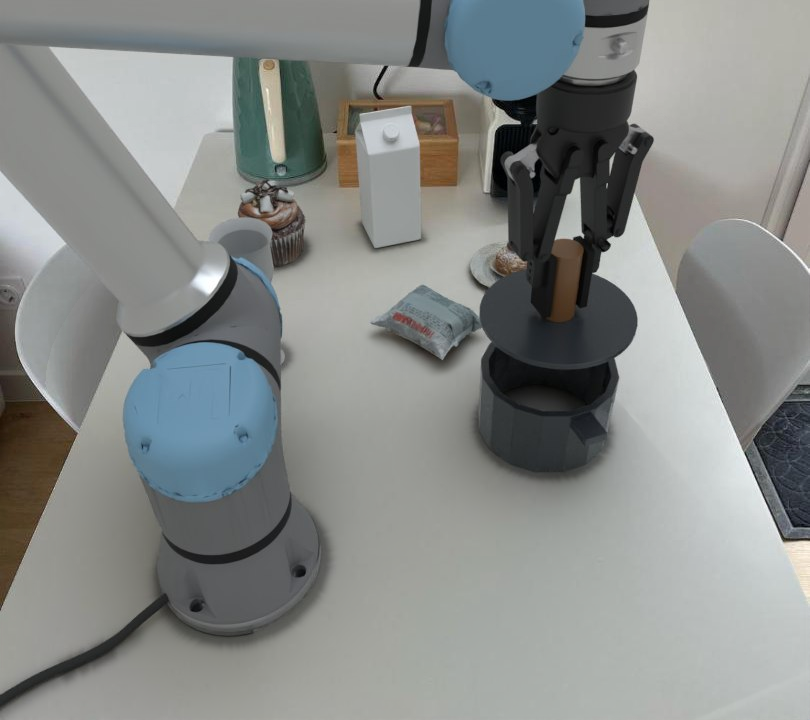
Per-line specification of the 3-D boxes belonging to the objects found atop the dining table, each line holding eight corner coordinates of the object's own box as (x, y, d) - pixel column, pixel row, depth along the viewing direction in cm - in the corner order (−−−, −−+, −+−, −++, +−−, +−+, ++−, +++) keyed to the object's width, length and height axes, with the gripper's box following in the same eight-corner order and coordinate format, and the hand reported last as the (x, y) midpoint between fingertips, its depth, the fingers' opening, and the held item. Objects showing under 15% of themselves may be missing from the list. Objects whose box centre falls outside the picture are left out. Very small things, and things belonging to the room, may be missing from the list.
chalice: (228, 349, 101) (200, 227, 89) (279, 332, 103) (259, 211, 91) (248, 385, 96) (220, 262, 84) (301, 367, 98) (282, 243, 86)
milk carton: (361, 223, 121) (352, 103, 108) (406, 215, 123) (403, 94, 110) (374, 249, 116) (366, 126, 103) (421, 240, 118) (419, 117, 105)
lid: (522, 392, 73) (529, 317, 67) (454, 296, 83) (456, 224, 77) (667, 349, 76) (686, 274, 70) (585, 261, 87) (595, 190, 81)
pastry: (515, 311, 105) (517, 282, 102) (451, 271, 112) (452, 243, 109) (575, 273, 111) (579, 245, 108) (511, 237, 118) (513, 210, 114)
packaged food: (442, 374, 97) (443, 343, 93) (369, 333, 103) (368, 302, 99) (486, 338, 102) (488, 307, 98) (414, 301, 107) (414, 270, 104)
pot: (525, 511, 82) (532, 452, 76) (449, 387, 95) (450, 328, 89) (644, 470, 85) (660, 411, 79) (554, 356, 99) (562, 298, 93)
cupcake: (228, 259, 115) (215, 197, 109) (269, 225, 122) (259, 165, 115) (282, 277, 112) (273, 215, 105) (322, 242, 118) (315, 181, 111)
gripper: (515, 105, 58) (499, 350, 74) (707, 66, 62) (652, 306, 78) (472, 66, 63) (465, 302, 79) (651, 32, 67) (611, 263, 83)
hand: (558, 304), depth 78 cm, fingers closed on lid, 3 cm apart
